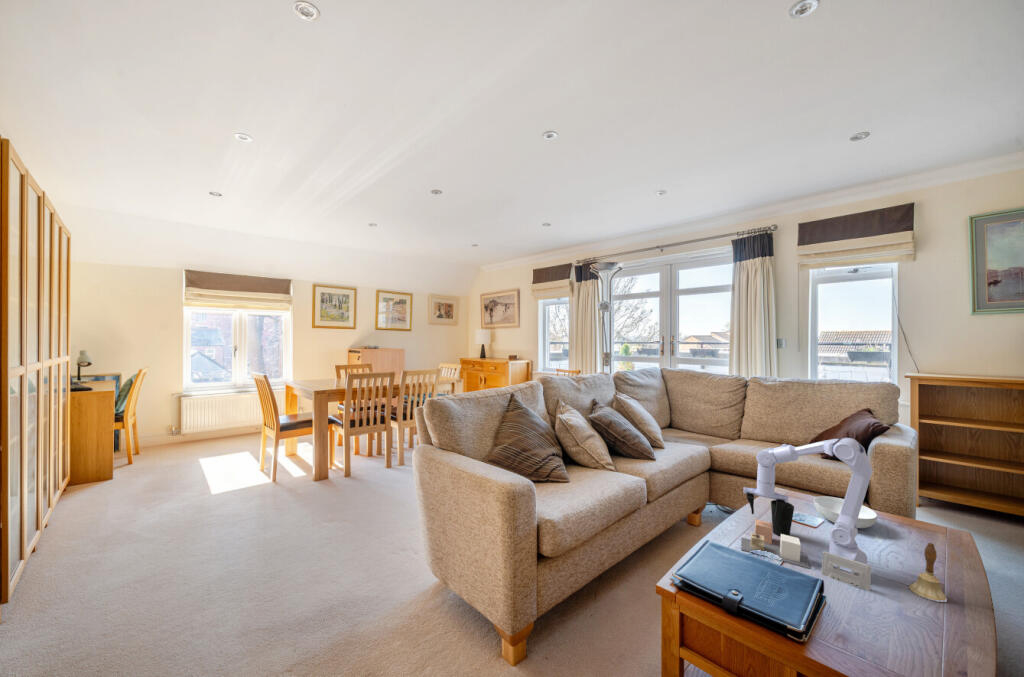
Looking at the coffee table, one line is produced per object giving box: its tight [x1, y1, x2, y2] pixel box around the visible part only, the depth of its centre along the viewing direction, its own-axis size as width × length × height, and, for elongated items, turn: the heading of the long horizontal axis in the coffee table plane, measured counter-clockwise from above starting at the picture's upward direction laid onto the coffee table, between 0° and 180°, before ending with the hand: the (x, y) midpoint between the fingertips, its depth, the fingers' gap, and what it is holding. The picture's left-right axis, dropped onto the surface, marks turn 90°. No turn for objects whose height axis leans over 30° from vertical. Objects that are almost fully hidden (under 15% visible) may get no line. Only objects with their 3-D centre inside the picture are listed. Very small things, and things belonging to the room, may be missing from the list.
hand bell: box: [908, 542, 947, 600], centre depth 122 cm, size 8×8×16 cm
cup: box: [770, 499, 795, 538], centre depth 157 cm, size 8×8×12 cm
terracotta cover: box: [754, 518, 773, 545], centre depth 152 cm, size 5×5×6 cm
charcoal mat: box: [740, 537, 810, 570], centre depth 143 cm, size 20×10×1 cm, turn 59°
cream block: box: [779, 534, 801, 562], centre depth 141 cm, size 5×5×6 cm
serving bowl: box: [813, 495, 878, 529], centre depth 169 cm, size 21×21×7 cm
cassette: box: [821, 550, 872, 592], centre depth 127 cm, size 12×2×8 cm, turn 49°
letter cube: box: [750, 532, 764, 551], centre depth 146 cm, size 4×4×4 cm
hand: (764, 515), depth 152 cm, fingers open, 7 cm apart
